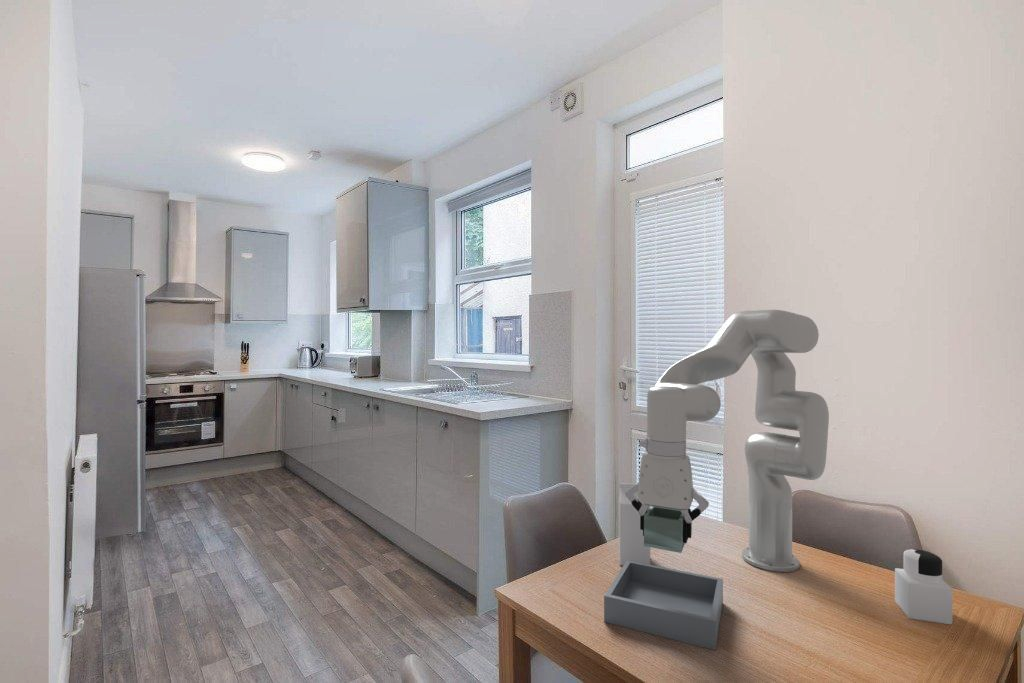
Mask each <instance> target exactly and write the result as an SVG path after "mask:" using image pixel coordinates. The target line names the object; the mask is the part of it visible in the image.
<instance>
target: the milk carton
mask: <svg viewBox="0 0 1024 683" xmlns="http://www.w3.org/2000/svg"><path fill="white" fill-rule="evenodd" d="M636 484H637V483H626V482H624V483H623V482H620V483H619V565H620V566H623V565H624V564H625V562H626V560H629V561H634V562H639V563H644V564H650V565H651V547H646V546H644V536H643V530H640V515H639V513H638V511H637V510H636V509H635V508H634V506H633V505H632V503H631V502H630V501H629V499H628V498H627V497H626V495H625V493H626V492H627V491H628V490H629V489H630V488H632V487H633V486H635V485H636ZM635 496H636V498H637V499H638V492H636V493H635ZM638 500H639V499H638ZM650 507H651V506H649V508H650ZM649 508H648V509H649ZM648 509H647V510H648Z"/></svg>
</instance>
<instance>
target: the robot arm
mask: <svg viewBox="0 0 1024 683" xmlns="http://www.w3.org/2000/svg"><path fill="white" fill-rule="evenodd" d="M819 336H820V334H819V329H818V326H817V324H816V323H815V321H814V320H813V319H812V318H810V317H809V316H806V315H803V314H802V315H801V314H798V313H795V312H790V311H788V310H787V311H786V310H781V309H761V310H760V309H759V310H744V311H743V310H742V311H739V312H735V313H733V314H731V315H730V316H729V317H728V318H727V319H726V321H725V322H724V323H723V325H722V326H721V327H720V328H719V329H718V331H717V332H716V334H715V335H714V336H713V337H712V338H711V340H710V341H709V342H708V344H707V345H706V346H705V347H704V348H702V349H699V350H697V351H695V352H694V353H692V354H690V355H688V356H686V357H684V358H682V359H680V360H679V361H677V362H675V363H674V364H672V365H671V366H670V367H668V368H667V369H666V371H665V372H664V373H663V374H662V376H660V378H659V379H658V380H657V382H656V384H654V385H653V386H651V387H650V388H649V389H648V391H647V393H646V394H647V395H646V396H647V397H646V438H645V439H640V440H639V444H638V445H639V447H640V448H644V449H645V452H644V453H642V455H641V459H640V465H639V476H638V483H635V484H636V485H635V486H633V487H632V488H630V489H629V490H628V491H627V492H626V493H625V495H626V497H627V498H628V499H629V501H630V502H631V503H632V505H633V506H634V508H635V509H636V510H637V511H638V513H639V515H640V530H643V536H644V515H645V514H646V512H647V511H648V510H647V509H648V508H649V506H650V507H651V506H655V507H661V508H668V509H675V510H680V511H681V513H682V515H683V517H684V522H683V543H685V544H687V543H688V540H689V539H691V538H692V534H693V533H692V524H693V523H692V522H693V521H695V519H697V518H698V517H699V516H700V515H701V514H703V512H705V511H706V510H707V509H708V507H709V504H710V502H709V501H708V500H707V499H706V498H704V497H703V495H701V494H700V492H698V491H697V490H696V489H695V488H694V484H693V483H694V482H693V471H692V464H691V459H690V456H689V455H687V422H688V421H689V422H700V423H702V422H707V421H711V420H712V419H715V417H716V416H717V415H718V414H719V412H720V409H721V402H722V401H721V398H720V396H719V393H718V392H717V391H716V390H715V389H713V388H712V387H710V386H707V385H705V384H704V385H703V384H702V383H706V382H711V381H716V380H719V379H723V378H727V377H731V376H732V375H734V374H736V373H738V371H739V370H740V369H741V368H742V366H743V365H744V364H745V361H747V359H748V358H749V357H750V355H751V356H752V358H753V360H754V362H755V365H756V369H757V381H756V392H755V407H754V414H755V416H754V417H755V418H756V421H757V422H758V423H759V424H761V425H763V426H765V427H769V428H773V429H774V428H775V429H782V430H783V429H784V430H788V431H797V432H799V436H795V435H789V434H782V433H775V432H767V431H759V432H756V433H752V434H751V435H749V437H748V438H747V439H746V440H745V444H744V455H745V460H746V465H747V471H748V472H747V473H748V547H745V548H743V550H742V552H741V553H742V554H741V557H742V559H743V560H744V561H746V563H748V564H750V565H752V566H754V567H756V568H759V569H762V570H766V571H771V572H776V573H778V572H779V573H780V572H781V573H782V572H783V573H786V572H787V573H789V572H794V571H796V570H798V569H799V568H800V560H799V558H798V557H797V556H795V555H794V554H793V492H792V487H791V485H790V483H789V481H788V479H787V478H786V477H792V478H797V479H802V480H806V481H815V480H818V479H820V478H821V477H822V475H823V474H824V472H825V468H826V463H827V454H828V453H827V451H828V450H827V448H828V439H829V438H828V436H829V424H830V422H829V421H830V419H829V418H830V415H829V414H830V412H829V411H830V410H829V407H828V404H827V401H826V399H825V398H824V397H823V396H822V395H821V394H819V393H817V392H811V391H805V390H804V391H803V390H796V381H797V380H796V379H797V378H796V374H797V371H796V367H795V365H794V364H793V362H792V360H791V359H790V358H789V357H788V356H787V354H788V353H789V354H805V353H809V352H811V351H813V349H814V348H815V347H816V346H817V344H818V341H819ZM636 492H638V499H639V500H638V499H637V498H636V496H635V493H636ZM694 500H695V502H697V503H698V505H697V507H695V508H694V509H691V507H692V503H693V501H694Z"/></svg>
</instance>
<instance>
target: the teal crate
mask: <svg viewBox="0 0 1024 683" xmlns="http://www.w3.org/2000/svg"><path fill="white" fill-rule="evenodd" d="M683 522H684V517H683V515H682V513H681V511H680V510H675V509H668V508H661V507H655V506H650V508H649V509H648V511H647V512H646V514H645V515H644V546H646V547H650V549H651V548H652V549H656V550H657V549H658V550H663V551H669V552H673V553H679V554H681V553H682V552H683V549H684V547H685V545H686V543H683Z"/></svg>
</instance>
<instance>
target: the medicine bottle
mask: <svg viewBox="0 0 1024 683" xmlns="http://www.w3.org/2000/svg"><path fill="white" fill-rule="evenodd" d="M902 559H903V564H902V565H903V568H898V567H895V568H894V601H895V603H896V605H897V606H898V607H899V608H900V609H901V610H902V612H903V613H904V615H906V616H907V618H908V619H909V620H918V621H925V622H930V623H937V624H944V625H950V626H951V625H953V588H952V587H951V586H950V584H948V583H947V582H946V581H945V580H943V559H942V558H941V557H940V556H938V555H937V554H935V553H933V552H930V551H927V550H925V549H924V550H923V549H918V548H917V549H915V548H913V549H912V548H911V549H906V550H904V551H903V558H902Z"/></svg>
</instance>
